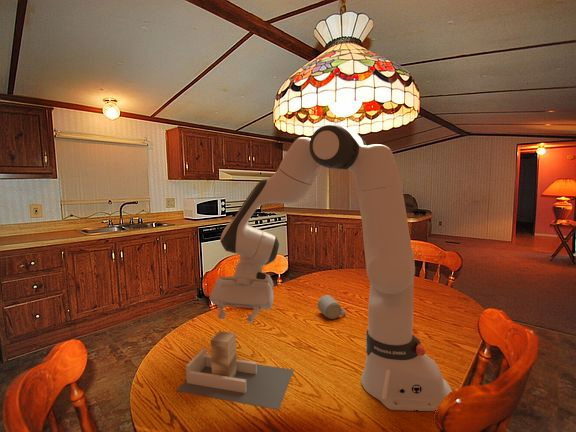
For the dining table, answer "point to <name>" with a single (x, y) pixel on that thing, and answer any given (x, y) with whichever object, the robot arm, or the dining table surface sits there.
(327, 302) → the ceramic mug
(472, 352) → the dining table surface
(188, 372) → the shelf lane
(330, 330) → the dining table surface
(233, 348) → the beech block
